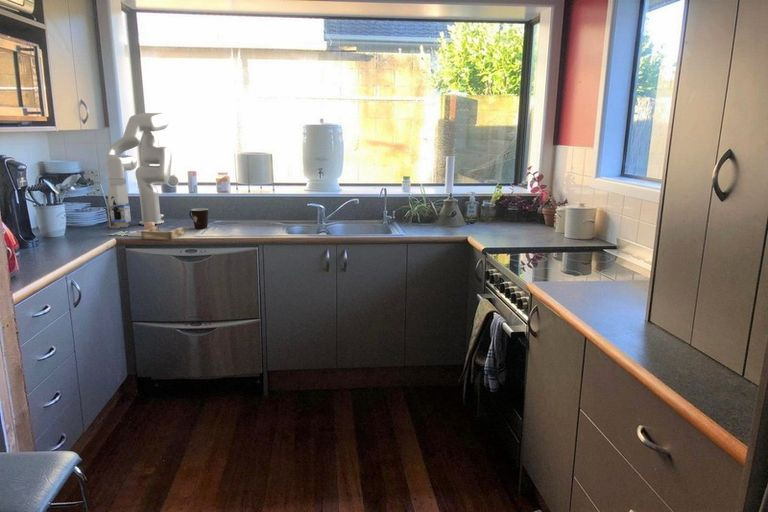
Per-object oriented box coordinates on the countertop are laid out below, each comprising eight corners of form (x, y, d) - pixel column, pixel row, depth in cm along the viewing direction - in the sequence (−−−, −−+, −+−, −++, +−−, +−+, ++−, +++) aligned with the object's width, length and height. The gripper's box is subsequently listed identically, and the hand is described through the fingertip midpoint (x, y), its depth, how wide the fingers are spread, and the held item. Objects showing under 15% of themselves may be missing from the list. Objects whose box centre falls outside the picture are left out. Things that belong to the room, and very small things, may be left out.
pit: (136, 233, 281) (136, 230, 280) (149, 234, 280) (149, 230, 280) (128, 236, 274) (128, 233, 274) (142, 237, 273) (141, 233, 273)
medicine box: (111, 222, 277) (109, 204, 275) (116, 220, 281) (115, 203, 279) (125, 222, 276) (124, 205, 274) (131, 221, 280) (129, 204, 278)
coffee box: (127, 225, 304) (124, 195, 301) (129, 227, 299) (126, 197, 295) (108, 226, 299) (105, 197, 296) (110, 228, 294) (107, 198, 290)
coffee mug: (211, 228, 295) (210, 209, 293) (195, 230, 291) (193, 211, 288) (205, 225, 305) (203, 207, 302) (189, 226, 300) (187, 208, 298)
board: (120, 232, 286) (120, 231, 286) (137, 232, 284) (136, 231, 284) (108, 235, 276) (108, 235, 276) (125, 236, 275) (125, 235, 275)
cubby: (156, 233, 282) (155, 226, 281) (184, 234, 280) (183, 227, 279) (141, 238, 269) (140, 231, 268) (171, 239, 267) (170, 232, 266)
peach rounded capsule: (148, 231, 288) (147, 221, 287) (157, 231, 288) (156, 221, 287) (142, 232, 284) (141, 223, 282) (152, 233, 283) (151, 223, 282)
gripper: (120, 180, 283) (123, 216, 287) (99, 183, 266) (103, 221, 270) (134, 180, 282) (137, 216, 286) (114, 183, 265) (118, 221, 269)
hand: (121, 218), depth 278 cm, fingers closed on medicine box, 4 cm apart
